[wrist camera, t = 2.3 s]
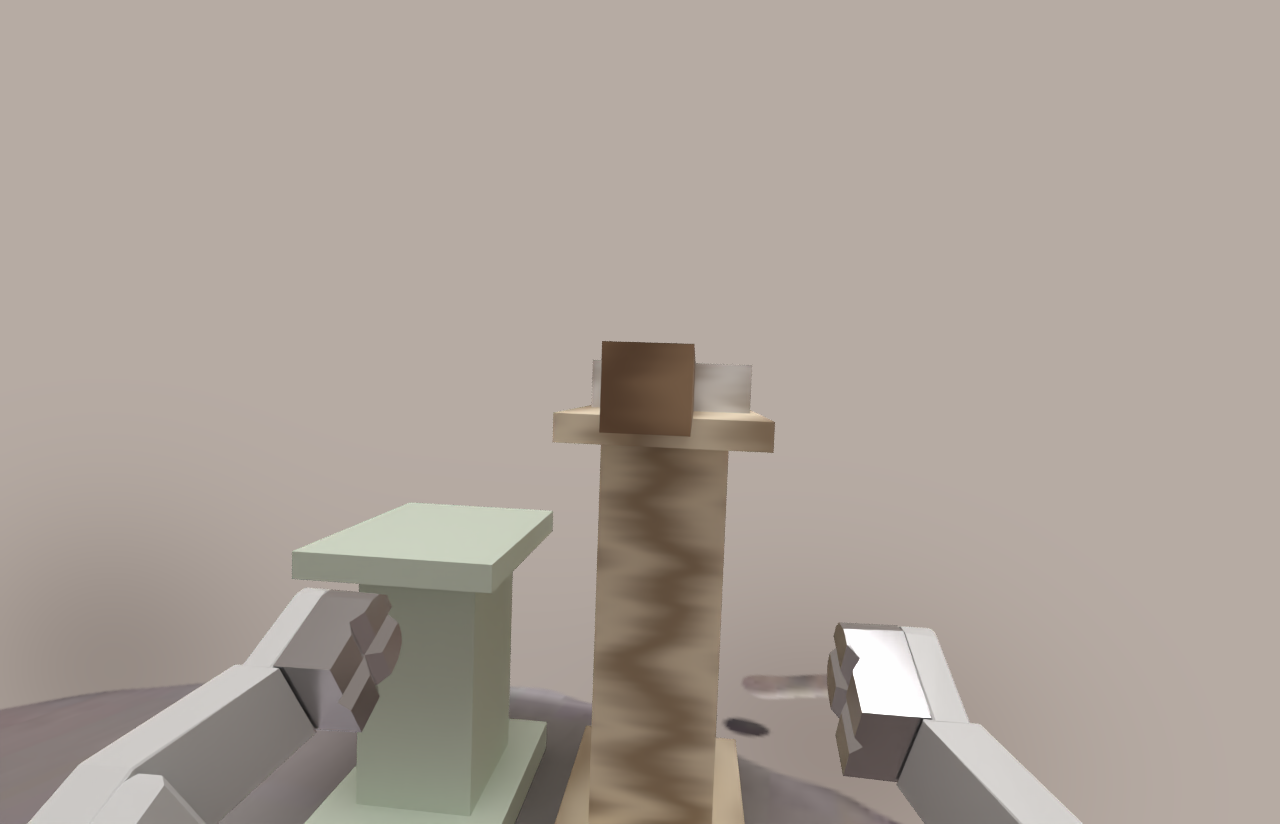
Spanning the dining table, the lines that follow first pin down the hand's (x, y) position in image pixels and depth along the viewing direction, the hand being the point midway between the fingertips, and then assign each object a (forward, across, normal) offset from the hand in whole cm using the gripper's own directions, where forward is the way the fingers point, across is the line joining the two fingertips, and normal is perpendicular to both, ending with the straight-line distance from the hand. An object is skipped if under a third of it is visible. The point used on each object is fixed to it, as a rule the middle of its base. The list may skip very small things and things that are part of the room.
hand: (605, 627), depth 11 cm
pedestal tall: (+10, +1, +33) cm, 34 cm away
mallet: (+19, 0, +8) cm, 20 cm away
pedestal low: (+10, +15, +32) cm, 37 cm away
